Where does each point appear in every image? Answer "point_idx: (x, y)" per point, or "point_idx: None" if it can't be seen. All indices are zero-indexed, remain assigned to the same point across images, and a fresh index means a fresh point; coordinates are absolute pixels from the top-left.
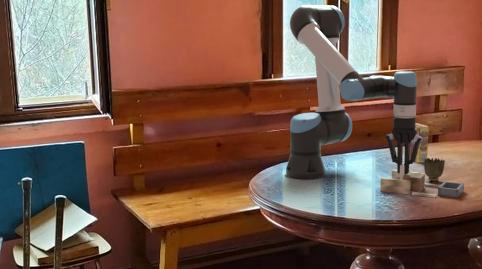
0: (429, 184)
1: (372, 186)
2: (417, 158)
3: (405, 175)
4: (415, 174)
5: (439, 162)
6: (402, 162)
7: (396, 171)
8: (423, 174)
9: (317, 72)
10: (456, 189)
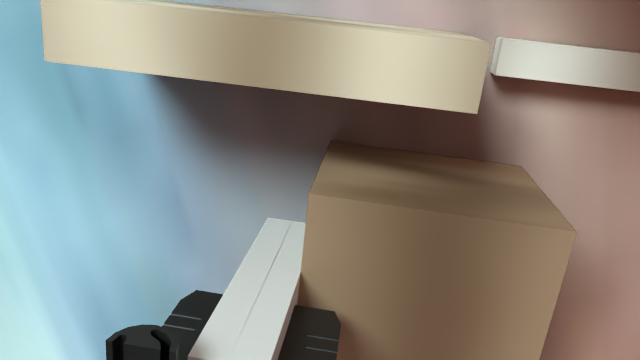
0: (589, 85)
1: (28, 258)
2: None
3: None
4: (433, 270)
5: None
6: (176, 343)
7: (119, 67)
8: (554, 237)
9: None
10: None
